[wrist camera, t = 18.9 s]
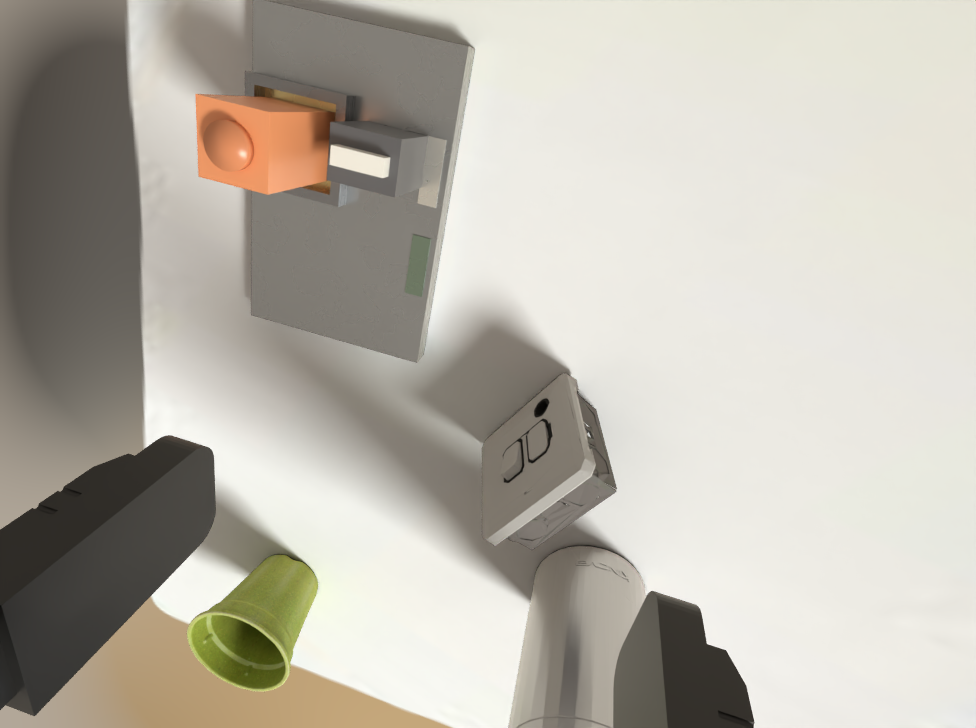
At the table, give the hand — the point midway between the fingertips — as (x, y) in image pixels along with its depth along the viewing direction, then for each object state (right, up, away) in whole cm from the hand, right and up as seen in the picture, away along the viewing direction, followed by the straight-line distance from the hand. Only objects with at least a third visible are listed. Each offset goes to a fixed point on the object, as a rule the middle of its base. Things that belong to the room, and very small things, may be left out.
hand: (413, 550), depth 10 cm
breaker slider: (-4, +16, +23) cm, 29 cm away
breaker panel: (-8, +14, +27) cm, 31 cm away
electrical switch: (+6, -1, +31) cm, 32 cm away
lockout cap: (-10, +17, +24) cm, 32 cm away
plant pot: (-18, -18, +44) cm, 51 cm away
